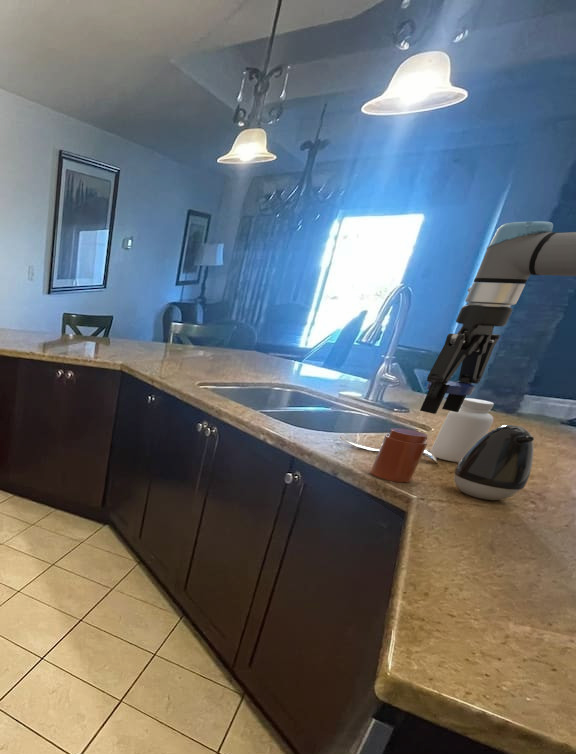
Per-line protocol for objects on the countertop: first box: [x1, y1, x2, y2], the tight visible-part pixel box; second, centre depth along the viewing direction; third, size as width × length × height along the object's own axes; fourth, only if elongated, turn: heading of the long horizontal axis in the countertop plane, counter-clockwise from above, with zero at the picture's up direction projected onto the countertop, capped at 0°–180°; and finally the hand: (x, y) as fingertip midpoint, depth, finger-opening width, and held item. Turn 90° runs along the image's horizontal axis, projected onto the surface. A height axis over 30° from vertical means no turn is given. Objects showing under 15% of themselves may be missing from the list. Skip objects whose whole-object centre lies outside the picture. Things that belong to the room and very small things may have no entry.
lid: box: [425, 380, 476, 396], centre depth 109 cm, size 8×7×2 cm
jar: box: [369, 427, 429, 483], centre depth 109 cm, size 7×7×10 cm
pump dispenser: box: [453, 424, 535, 501], centre depth 99 cm, size 10×10×15 cm
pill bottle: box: [430, 397, 495, 464], centre depth 121 cm, size 8×8×15 cm
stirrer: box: [339, 435, 438, 464], centre depth 126 cm, size 20×4×5 cm
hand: (439, 411), depth 111 cm, fingers closed on lid, 7 cm apart
